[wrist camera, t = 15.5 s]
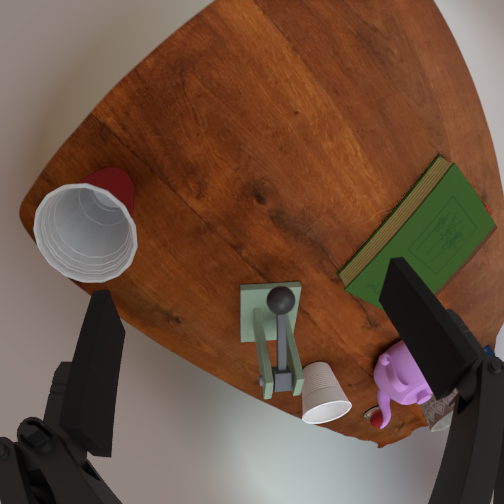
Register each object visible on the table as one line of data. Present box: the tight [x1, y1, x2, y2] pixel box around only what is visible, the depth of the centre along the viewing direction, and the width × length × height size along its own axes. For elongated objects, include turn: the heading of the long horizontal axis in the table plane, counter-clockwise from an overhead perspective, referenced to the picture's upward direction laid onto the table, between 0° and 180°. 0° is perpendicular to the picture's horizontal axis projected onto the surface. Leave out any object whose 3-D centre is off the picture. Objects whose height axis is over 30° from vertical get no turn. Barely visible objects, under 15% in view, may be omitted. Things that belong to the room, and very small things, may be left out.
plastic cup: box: [33, 167, 138, 282], centre depth 30 cm, size 11×11×12 cm
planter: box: [420, 388, 458, 432], centre depth 67 cm, size 19×19×16 cm
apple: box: [364, 406, 383, 428], centre depth 80 cm, size 8×8×6 cm
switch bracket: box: [240, 282, 305, 399], centre depth 44 cm, size 12×9×15 cm
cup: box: [302, 362, 351, 424], centre depth 58 cm, size 10×10×11 cm
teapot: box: [374, 340, 433, 429], centre depth 60 cm, size 22×22×14 cm
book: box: [337, 154, 497, 311], centre depth 44 cm, size 25×19×4 cm
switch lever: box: [266, 286, 295, 392], centre depth 39 cm, size 14×4×4 cm, turn 179°
